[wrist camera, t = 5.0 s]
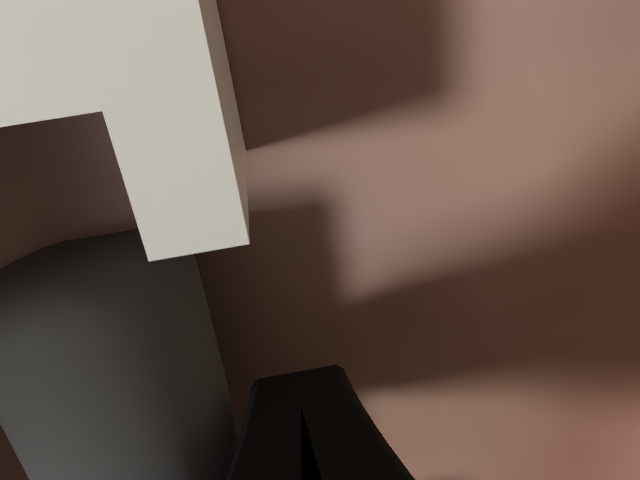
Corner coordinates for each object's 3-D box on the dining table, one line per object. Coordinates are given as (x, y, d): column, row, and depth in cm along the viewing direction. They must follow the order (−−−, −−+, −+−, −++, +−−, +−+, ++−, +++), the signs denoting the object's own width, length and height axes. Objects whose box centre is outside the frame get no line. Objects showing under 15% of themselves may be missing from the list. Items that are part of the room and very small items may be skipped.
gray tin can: (62, 605, 10) (179, 472, 12) (195, 696, 8) (300, 525, 11) (-98, 322, 7) (93, 218, 9) (58, 385, 6) (240, 243, 8)
